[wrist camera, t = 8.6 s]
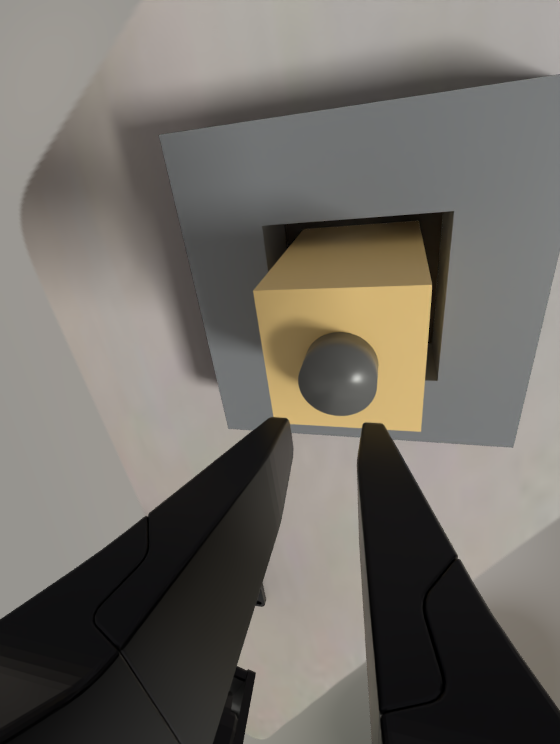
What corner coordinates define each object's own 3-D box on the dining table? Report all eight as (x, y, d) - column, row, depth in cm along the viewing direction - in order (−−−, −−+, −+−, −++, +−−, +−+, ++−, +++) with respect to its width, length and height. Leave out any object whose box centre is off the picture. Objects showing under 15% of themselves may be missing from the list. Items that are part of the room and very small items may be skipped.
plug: (413, 327, 17) (422, 455, 11) (312, 327, 18) (266, 444, 12) (418, 220, 15) (435, 301, 8) (303, 229, 16) (240, 305, 10)
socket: (497, 402, 18) (512, 447, 16) (247, 392, 21) (228, 428, 19) (560, 78, 12) (602, 67, 10) (197, 131, 15) (158, 134, 13)
